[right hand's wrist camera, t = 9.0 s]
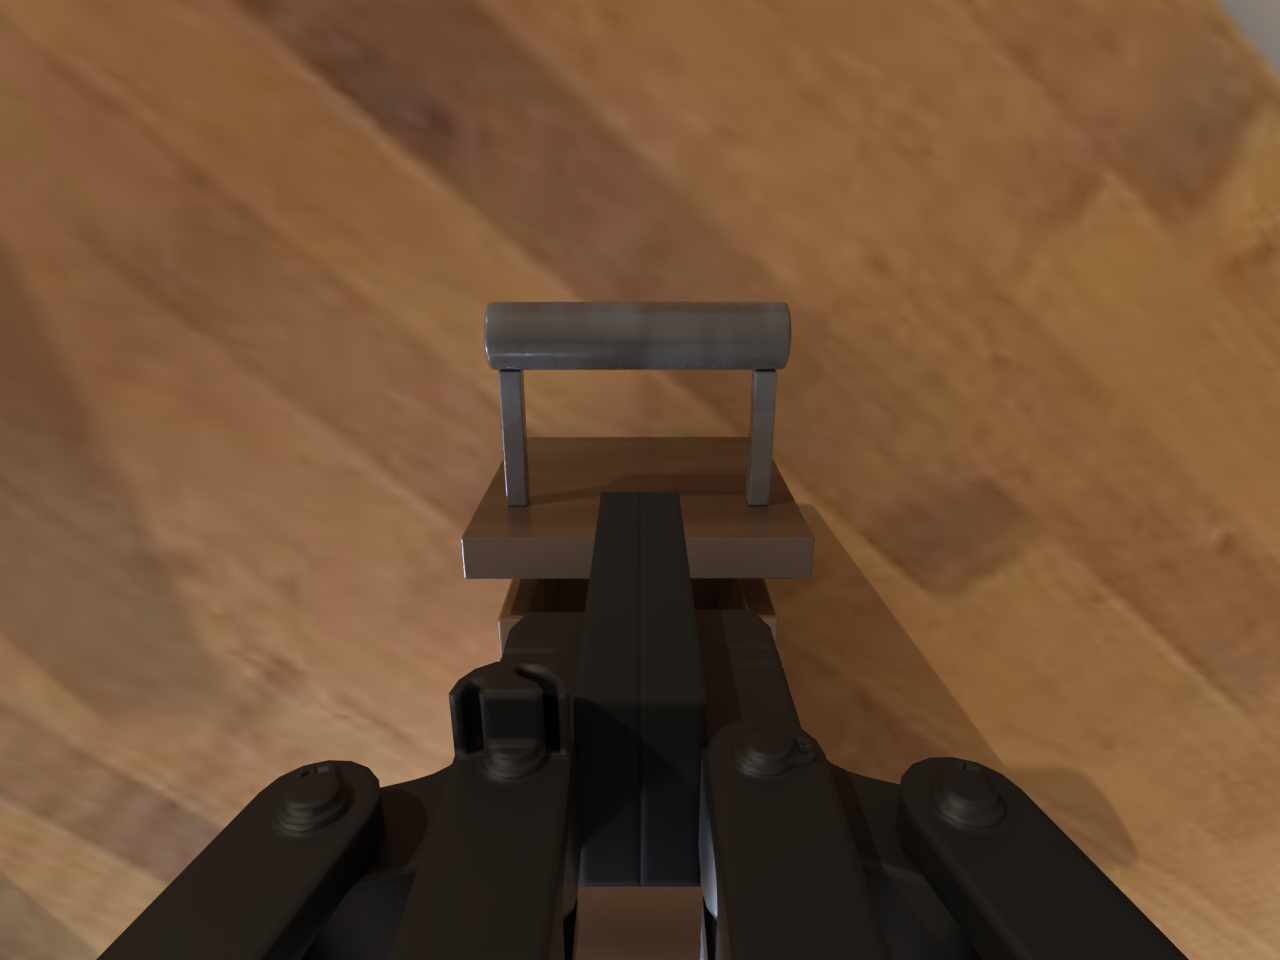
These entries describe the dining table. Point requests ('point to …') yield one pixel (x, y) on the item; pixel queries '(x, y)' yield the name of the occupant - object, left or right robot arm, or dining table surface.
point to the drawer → (636, 457)
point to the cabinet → (639, 923)
